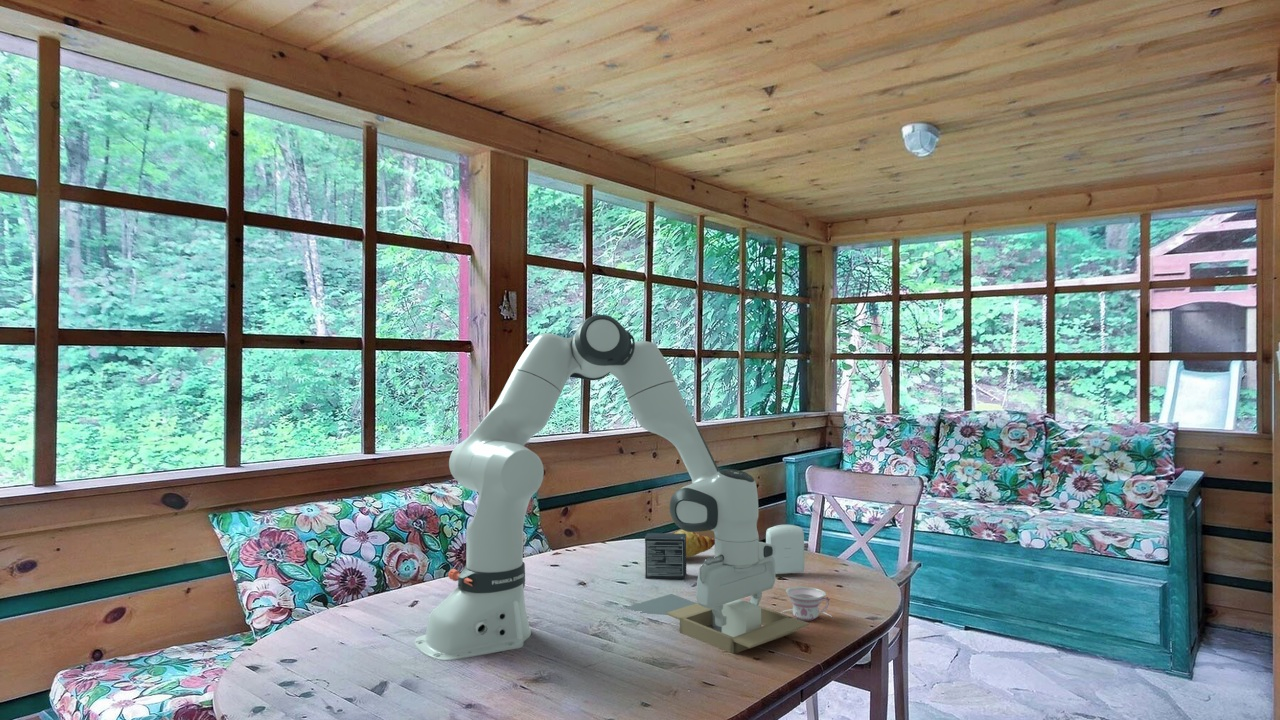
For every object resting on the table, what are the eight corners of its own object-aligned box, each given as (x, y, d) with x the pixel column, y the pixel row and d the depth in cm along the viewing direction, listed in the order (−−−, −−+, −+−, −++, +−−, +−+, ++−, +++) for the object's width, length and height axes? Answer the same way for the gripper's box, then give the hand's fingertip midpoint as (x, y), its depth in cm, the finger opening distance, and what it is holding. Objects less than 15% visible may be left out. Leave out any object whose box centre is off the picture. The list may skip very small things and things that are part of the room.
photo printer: (769, 575, 187) (769, 527, 187) (763, 570, 191) (763, 523, 191) (806, 573, 189) (806, 526, 189) (800, 568, 193) (800, 522, 193)
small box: (686, 572, 190) (686, 532, 190) (686, 580, 183) (686, 538, 183) (646, 571, 191) (646, 531, 191) (644, 578, 184) (644, 537, 184)
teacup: (773, 626, 152) (773, 597, 152) (782, 608, 163) (782, 580, 163) (831, 634, 147) (831, 604, 147) (837, 614, 159) (837, 586, 159)
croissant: (650, 572, 200) (655, 552, 196) (639, 545, 208) (643, 525, 204) (719, 561, 208) (725, 541, 203) (706, 536, 215) (711, 516, 211)
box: (745, 647, 140) (745, 611, 140) (712, 633, 147) (712, 599, 147) (761, 641, 143) (761, 606, 143) (727, 628, 150) (727, 595, 150)
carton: (750, 668, 131) (750, 646, 131) (666, 632, 148) (666, 612, 148) (809, 643, 142) (809, 623, 142) (725, 612, 160) (725, 594, 160)
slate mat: (664, 626, 152) (664, 623, 152) (625, 609, 162) (625, 607, 162) (711, 611, 161) (711, 608, 161) (671, 596, 171) (671, 593, 171)
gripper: (711, 564, 136) (712, 637, 137) (780, 545, 150) (780, 612, 150) (688, 557, 141) (688, 627, 141) (757, 539, 155) (757, 604, 155)
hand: (736, 619), depth 146 cm, fingers open, 8 cm apart
